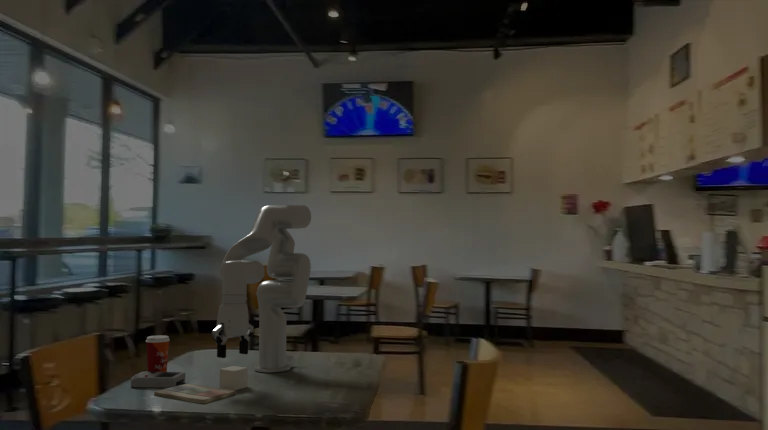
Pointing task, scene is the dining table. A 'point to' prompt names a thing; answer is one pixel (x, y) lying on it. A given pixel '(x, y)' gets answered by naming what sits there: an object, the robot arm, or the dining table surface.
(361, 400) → the dining table surface
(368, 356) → the dining table surface
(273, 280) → the robot arm
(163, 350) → the paper cup
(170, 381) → the handheld gaming device
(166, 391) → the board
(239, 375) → the cream cube
